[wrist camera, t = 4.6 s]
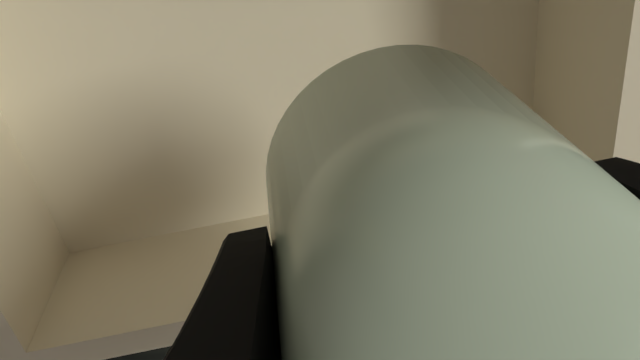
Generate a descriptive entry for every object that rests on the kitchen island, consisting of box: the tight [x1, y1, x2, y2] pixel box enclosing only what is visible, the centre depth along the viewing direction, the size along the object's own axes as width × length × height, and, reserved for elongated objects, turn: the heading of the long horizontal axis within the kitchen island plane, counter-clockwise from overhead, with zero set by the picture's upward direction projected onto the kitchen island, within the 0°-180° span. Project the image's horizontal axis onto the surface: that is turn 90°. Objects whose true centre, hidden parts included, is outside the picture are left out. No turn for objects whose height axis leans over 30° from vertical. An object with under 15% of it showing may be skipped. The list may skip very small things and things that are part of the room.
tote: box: [0, 0, 640, 360], centre depth 14 cm, size 18×14×5 cm
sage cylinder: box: [266, 45, 640, 360], centre depth 8 cm, size 5×5×7 cm
